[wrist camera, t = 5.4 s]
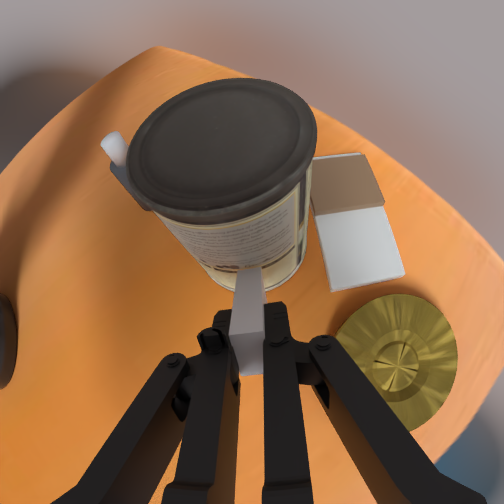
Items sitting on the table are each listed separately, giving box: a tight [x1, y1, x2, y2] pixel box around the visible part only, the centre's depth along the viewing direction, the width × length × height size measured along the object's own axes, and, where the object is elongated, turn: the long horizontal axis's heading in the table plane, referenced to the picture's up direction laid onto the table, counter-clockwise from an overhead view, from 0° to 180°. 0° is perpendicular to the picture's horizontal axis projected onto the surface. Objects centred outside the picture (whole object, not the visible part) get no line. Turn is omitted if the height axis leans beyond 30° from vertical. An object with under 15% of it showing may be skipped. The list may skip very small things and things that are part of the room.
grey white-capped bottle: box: [101, 131, 152, 211], centre depth 25 cm, size 3×3×10 cm
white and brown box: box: [309, 153, 405, 292], centre depth 25 cm, size 7×14×2 cm, turn 7°
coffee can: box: [126, 78, 317, 292], centre depth 20 cm, size 10×10×14 cm
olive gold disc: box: [334, 294, 458, 432], centre depth 19 cm, size 12×12×2 cm
